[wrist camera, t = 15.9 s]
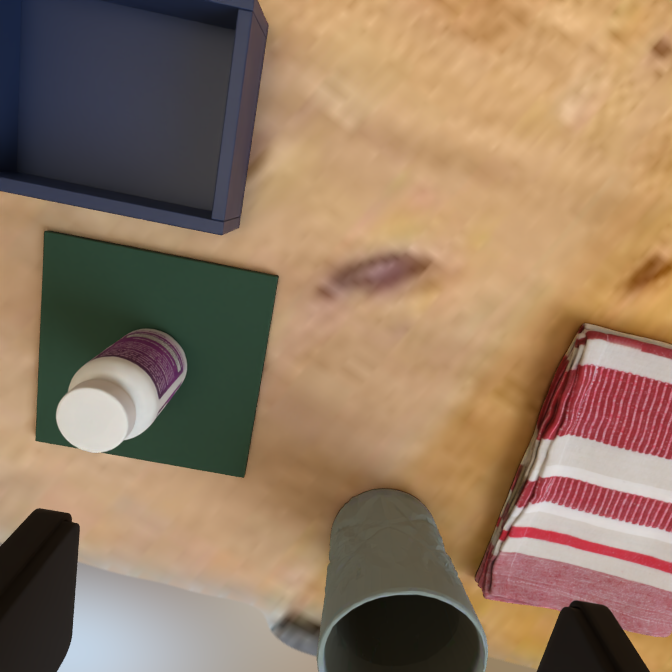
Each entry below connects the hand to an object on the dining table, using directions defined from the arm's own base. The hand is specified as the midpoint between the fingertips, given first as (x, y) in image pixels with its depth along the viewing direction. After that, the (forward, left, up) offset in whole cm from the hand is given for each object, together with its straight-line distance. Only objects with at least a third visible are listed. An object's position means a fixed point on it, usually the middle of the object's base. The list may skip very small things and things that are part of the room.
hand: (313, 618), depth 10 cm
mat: (+7, -12, -28) cm, 32 cm away
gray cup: (+18, +8, -28) cm, 35 cm away
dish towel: (+10, +25, -28) cm, 39 cm away
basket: (-10, -15, -28) cm, 34 cm away
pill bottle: (+7, -12, -28) cm, 31 cm away
